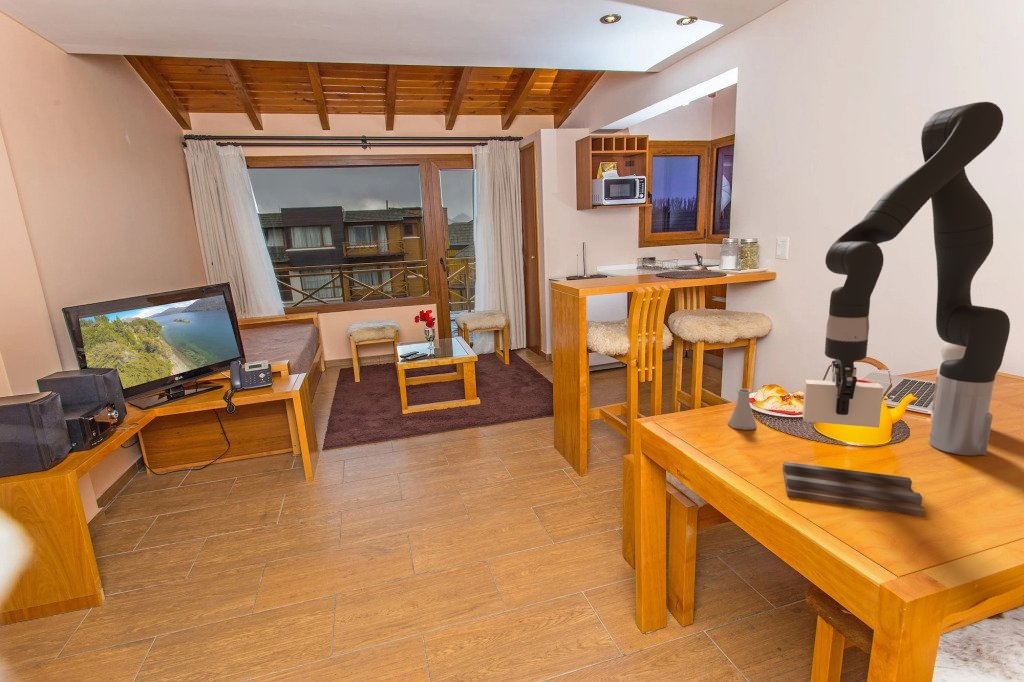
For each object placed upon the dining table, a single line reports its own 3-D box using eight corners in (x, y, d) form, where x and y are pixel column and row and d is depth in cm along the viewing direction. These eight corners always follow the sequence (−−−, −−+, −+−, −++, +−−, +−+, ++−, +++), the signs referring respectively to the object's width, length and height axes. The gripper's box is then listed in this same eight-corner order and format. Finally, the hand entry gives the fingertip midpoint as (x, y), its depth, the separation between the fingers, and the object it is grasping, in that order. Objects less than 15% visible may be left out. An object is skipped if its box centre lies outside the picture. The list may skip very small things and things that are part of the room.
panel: (875, 422, 108) (879, 383, 106) (879, 427, 106) (883, 388, 104) (802, 416, 114) (804, 379, 112) (804, 421, 112) (806, 383, 110)
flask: (760, 431, 129) (762, 395, 127) (730, 430, 130) (732, 394, 128) (752, 420, 136) (755, 386, 134) (724, 420, 137) (726, 385, 135)
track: (904, 484, 100) (906, 472, 100) (924, 516, 90) (926, 503, 89) (782, 468, 109) (783, 457, 109) (787, 495, 99) (788, 483, 98)
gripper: (876, 344, 98) (867, 425, 102) (860, 329, 110) (853, 401, 114) (831, 343, 101) (825, 421, 105) (821, 328, 113) (816, 399, 117)
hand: (840, 410), depth 109 cm, fingers closed on panel, 3 cm apart
